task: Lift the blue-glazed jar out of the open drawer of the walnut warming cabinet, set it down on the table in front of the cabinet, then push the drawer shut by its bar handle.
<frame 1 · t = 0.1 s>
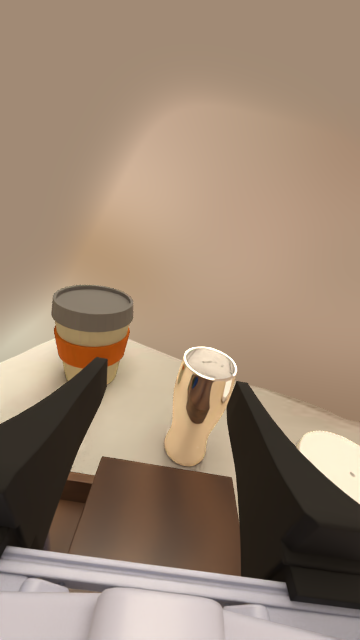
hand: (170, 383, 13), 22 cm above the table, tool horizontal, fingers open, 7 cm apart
beer glass: (184, 446, 34), on the table
cabinet: (147, 597, 20), on the table
reusable coffee cup: (91, 372, 44), on the table
plastic lid: (342, 486, 33), on the table
drawer: (4, 560, 18), point 3 cm above the table, slide at 8.0 cm, touching jar
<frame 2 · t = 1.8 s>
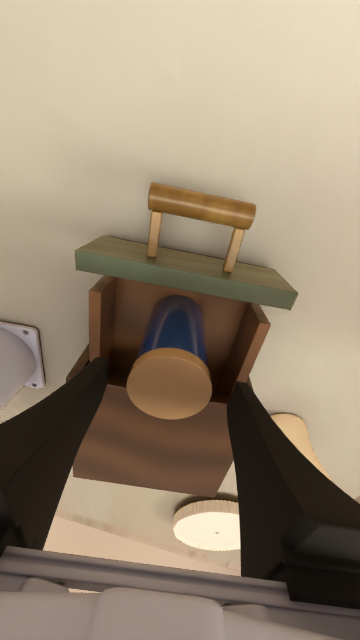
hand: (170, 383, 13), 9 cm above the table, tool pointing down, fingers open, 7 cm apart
beer glass: (279, 428, 29), on the table
cabinet: (161, 392, 27), on the table
jar: (177, 319, 20), point 2 cm above the table, touching drawer
plastic lid: (215, 512, 40), on the table
drawer: (178, 315, 18), point 3 cm above the table, slide at 8.0 cm, touching jar
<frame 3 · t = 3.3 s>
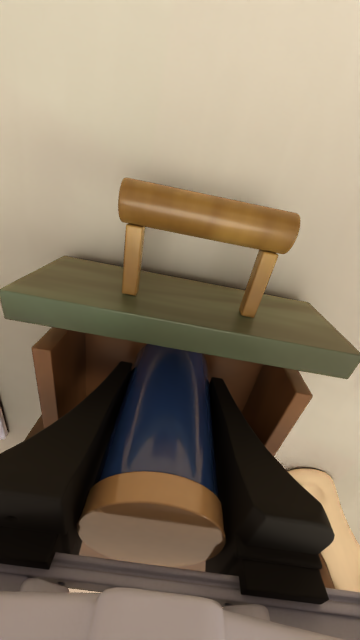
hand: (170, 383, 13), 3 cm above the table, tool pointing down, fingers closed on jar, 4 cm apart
beer glass: (299, 482, 23), on the table
cabinet: (154, 443, 21), on the table
jar: (171, 367, 14), point 2 cm above the table, touching drawer, gripper
drawer: (173, 368, 13), point 3 cm above the table, slide at 8.0 cm, touching jar
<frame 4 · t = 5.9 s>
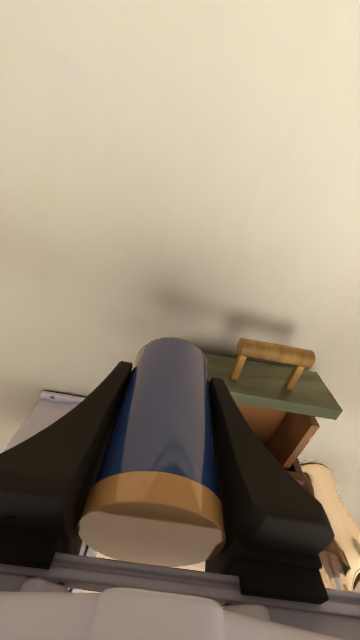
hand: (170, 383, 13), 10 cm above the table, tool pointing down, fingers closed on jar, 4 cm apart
beer glass: (308, 473, 34), on the table
jar: (171, 367, 14), point 9 cm above the table, touching gripper
drawer: (244, 408, 24), point 3 cm above the table, slide at 8.0 cm
when the fingers open (1 cm above the table, at t = 8.7 s): jar stays where it is, on the table.
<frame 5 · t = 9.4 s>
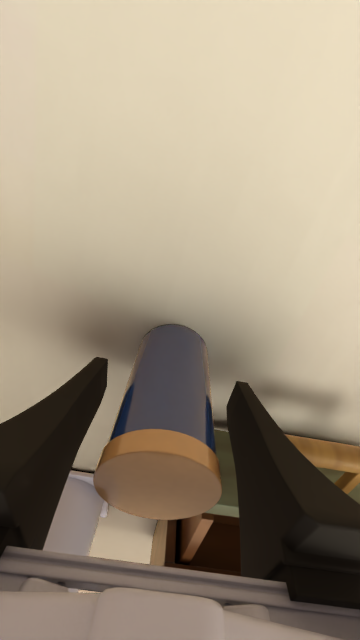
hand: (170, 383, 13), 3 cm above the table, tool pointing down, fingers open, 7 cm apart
cabinet: (225, 520, 26), on the table
jar: (173, 353, 15), on the table
drawer: (273, 504, 18), point 3 cm above the table, slide at 8.0 cm
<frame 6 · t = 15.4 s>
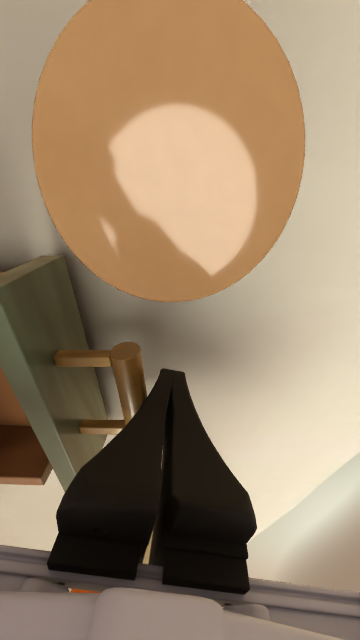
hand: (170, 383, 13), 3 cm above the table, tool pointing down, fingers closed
jar: (182, 186, 11), on the table
drawer: (3, 385, 13), point 3 cm above the table, slide at 7.5 cm, touching gripper
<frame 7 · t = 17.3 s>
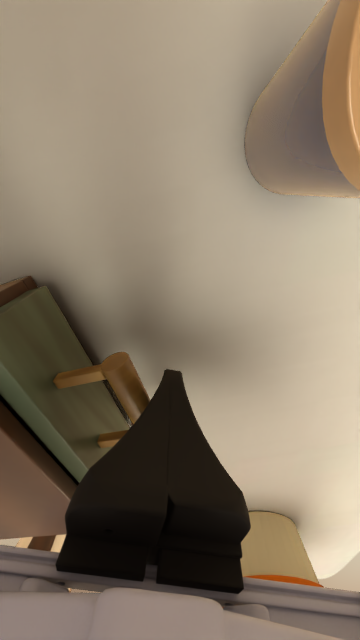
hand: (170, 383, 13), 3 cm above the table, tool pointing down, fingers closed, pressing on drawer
beer glass: (72, 489, 26), on the table
cabinet: (9, 386, 18), on the table
jar: (297, 135, 10), on the table
reusable coffee cup: (255, 527, 28), on the table
drawer: (24, 415, 14), point 3 cm above the table, slide at 0.0 cm, touching cabinet, gripper
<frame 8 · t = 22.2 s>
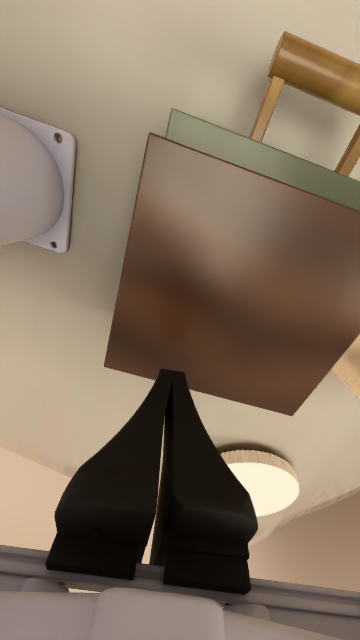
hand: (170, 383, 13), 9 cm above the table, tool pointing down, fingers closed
beer glass: (358, 351, 23), on the table
cabinet: (226, 278, 20), on the table
plastic lid: (240, 471, 34), on the table
drawer: (256, 240, 15), point 3 cm above the table, slide at 0.0 cm
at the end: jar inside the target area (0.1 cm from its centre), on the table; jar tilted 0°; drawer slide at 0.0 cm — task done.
